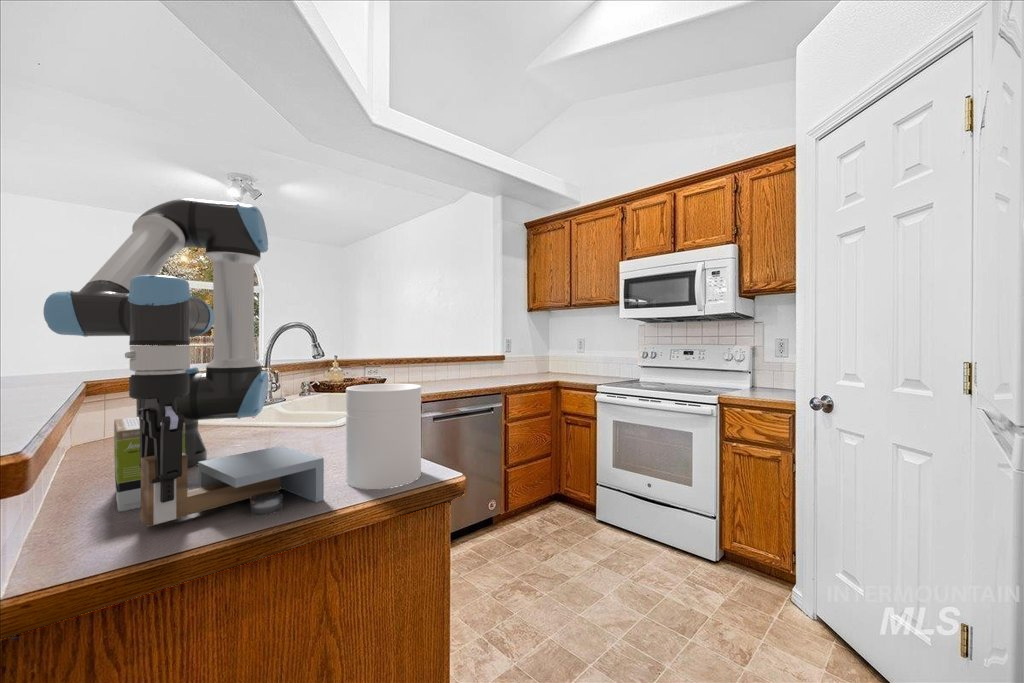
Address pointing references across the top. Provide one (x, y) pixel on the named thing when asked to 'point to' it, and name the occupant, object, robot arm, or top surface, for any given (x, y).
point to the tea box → (130, 462)
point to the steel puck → (265, 503)
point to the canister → (383, 435)
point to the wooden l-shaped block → (196, 492)
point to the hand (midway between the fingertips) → (160, 517)
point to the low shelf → (268, 470)
